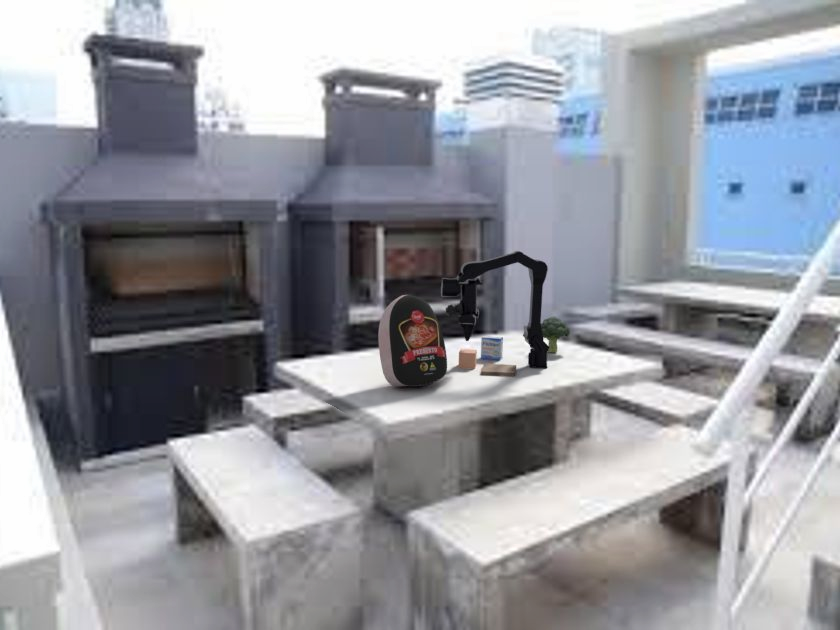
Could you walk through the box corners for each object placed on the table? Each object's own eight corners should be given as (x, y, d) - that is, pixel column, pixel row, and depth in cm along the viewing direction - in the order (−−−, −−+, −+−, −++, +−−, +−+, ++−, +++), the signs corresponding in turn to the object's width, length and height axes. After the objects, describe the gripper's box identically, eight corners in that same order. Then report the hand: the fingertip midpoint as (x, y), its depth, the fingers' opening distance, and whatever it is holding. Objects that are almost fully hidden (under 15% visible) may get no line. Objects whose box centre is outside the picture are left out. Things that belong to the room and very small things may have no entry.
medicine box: (480, 359, 268) (481, 337, 266) (482, 356, 272) (483, 335, 270) (500, 360, 265) (501, 338, 264) (502, 358, 269) (503, 336, 268)
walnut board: (516, 368, 253) (516, 365, 253) (515, 376, 242) (515, 373, 241) (483, 366, 255) (483, 363, 255) (481, 374, 244) (481, 371, 243)
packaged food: (401, 396, 215) (401, 302, 210) (368, 383, 231) (367, 295, 226) (455, 386, 228) (456, 297, 223) (420, 374, 244) (421, 290, 239)
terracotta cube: (476, 365, 258) (476, 349, 257) (474, 369, 252) (475, 353, 251) (460, 364, 259) (460, 349, 258) (458, 368, 253) (458, 352, 252)
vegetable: (535, 348, 286) (536, 313, 284) (566, 349, 286) (567, 314, 283) (539, 355, 274) (540, 318, 272) (571, 356, 274) (572, 319, 271)
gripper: (450, 292, 261) (449, 332, 264) (443, 299, 243) (443, 342, 246) (479, 293, 259) (478, 333, 262) (475, 300, 241) (474, 343, 244)
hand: (468, 338), depth 253 cm, fingers open, 9 cm apart
